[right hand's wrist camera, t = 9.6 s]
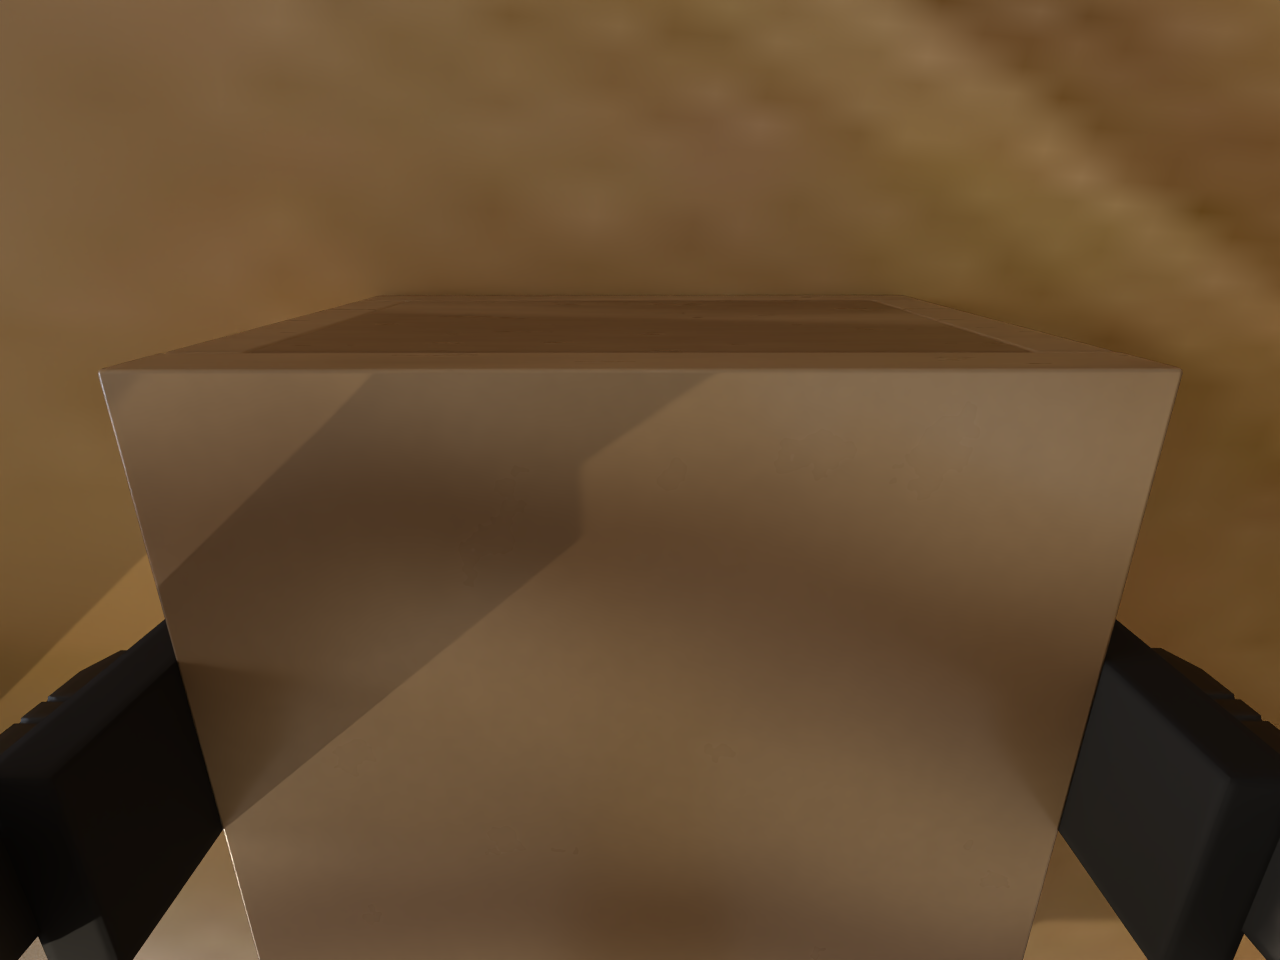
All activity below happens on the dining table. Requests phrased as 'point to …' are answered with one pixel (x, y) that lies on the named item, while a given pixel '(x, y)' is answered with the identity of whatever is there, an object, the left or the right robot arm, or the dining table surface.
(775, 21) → the dining table surface
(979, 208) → the dining table surface
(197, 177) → the dining table surface
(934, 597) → the cabinet
